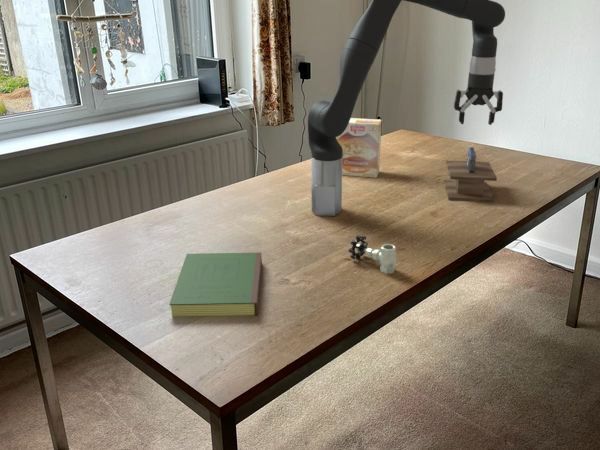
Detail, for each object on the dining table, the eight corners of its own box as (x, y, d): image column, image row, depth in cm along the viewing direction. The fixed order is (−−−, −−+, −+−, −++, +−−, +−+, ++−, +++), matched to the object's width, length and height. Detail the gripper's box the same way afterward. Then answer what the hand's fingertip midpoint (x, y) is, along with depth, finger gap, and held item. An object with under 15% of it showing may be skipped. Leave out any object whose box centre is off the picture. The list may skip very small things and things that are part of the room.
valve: (402, 269, 149) (364, 254, 157) (403, 245, 147) (365, 231, 154) (386, 278, 145) (348, 262, 153) (387, 253, 142) (348, 239, 150)
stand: (493, 201, 189) (496, 177, 186) (448, 199, 191) (450, 176, 188) (486, 184, 204) (488, 162, 201) (444, 182, 206) (446, 160, 202)
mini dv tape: (466, 164, 198) (468, 147, 196) (471, 165, 198) (473, 147, 195) (469, 172, 191) (471, 154, 188) (474, 173, 190) (476, 155, 188)
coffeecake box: (335, 175, 214) (336, 121, 206) (338, 169, 221) (339, 116, 213) (377, 178, 211) (379, 123, 203) (379, 171, 217) (382, 118, 209)
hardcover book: (257, 317, 130) (256, 302, 129) (170, 319, 130) (169, 304, 128) (261, 264, 153) (261, 251, 152) (188, 265, 153) (187, 252, 151)
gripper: (503, 69, 184) (497, 121, 191) (456, 69, 186) (451, 120, 193) (508, 74, 177) (501, 127, 184) (459, 73, 179) (453, 126, 186)
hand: (475, 123), depth 188 cm, fingers open, 8 cm apart
